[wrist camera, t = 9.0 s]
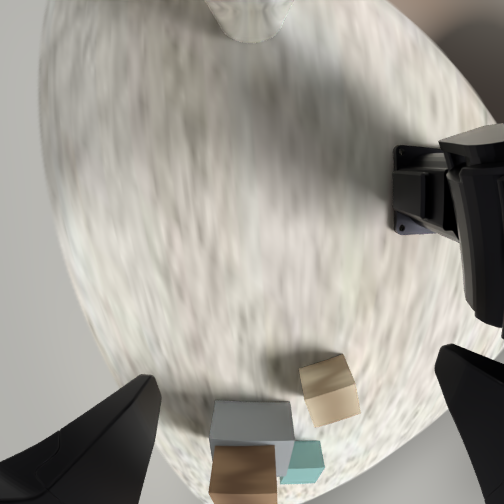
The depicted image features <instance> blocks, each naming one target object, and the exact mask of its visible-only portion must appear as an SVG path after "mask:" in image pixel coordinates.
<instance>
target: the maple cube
mask: <svg viewBox="0 0 504 504" xmlns="http://www.w3.org/2000/svg"><path fill="white" fill-rule="evenodd" d="M299 373H300V378H301V384H302V389H303V395H304V400H305V403H306V405H307V408H308V411H309V413H310V416H311V419H312V421H313V424H314V427H315V428H316V427H320V426H323V425H327V424H330V423H333V422H337V421H340V420H343V419H346V418H349V417H352V416H355V415H358V414H360V413H361V412H360V406H359V400H358V395H357V389H356V384H355V381H354V379H353V376H352V374H351V371H350V369H349V367H348V364H347V362H346V359H345V357H344V355H343V354H342V355H339V356H336V357H333V358H331V359H328V360H325V361H321V362H318V363H315V364H312V365H309V366H306V367H302V368H299Z"/></svg>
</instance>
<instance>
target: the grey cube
mask: <svg viewBox="0 0 504 504" xmlns="http://www.w3.org/2000/svg"><path fill="white" fill-rule="evenodd" d="M209 442H210V448H211V455H212V461H213V456H214V449H215V446H264V445H275V459H276V477H281V476H286V474H287V470H288V467H289V463H290V459H291V454H292V450H293V446H294V442H295V437H294V429H293V421H292V412H291V404H290V402H242V401H222V400H215V405H214V411H213V417H212V423H211V429H210V435H209Z"/></svg>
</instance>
